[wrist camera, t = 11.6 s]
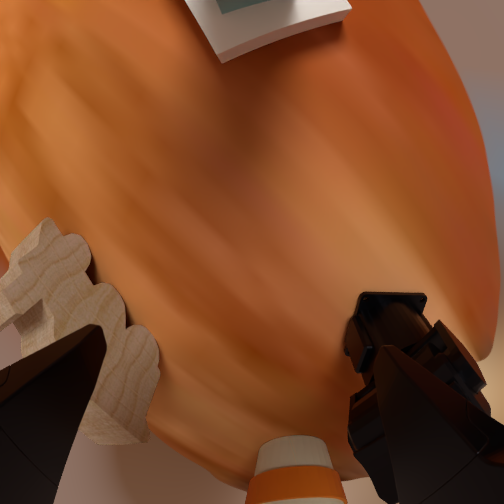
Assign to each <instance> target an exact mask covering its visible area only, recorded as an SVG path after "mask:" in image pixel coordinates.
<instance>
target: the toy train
mask: <svg viewBox="0 0 504 504" xmlns="http://www.w3.org/2000/svg"><path fill="white" fill-rule="evenodd" d="M90 260H91V253H90V250H89V247H88V244H87V242H86V241H85V240H84V239H83V238H82V237H81V235H77V234H74V233H71V234H68V235H65V236H63V235H62V234H61V232H60V231H59V229H58V228H57V226H56V225H55V223H54V221H53V220H52V219H51V218H49V217H47V218H45V219H44V220H43V221H42V222H41V223H40V224H39V225H38V226H37V227H36V228H35V229H34V230H33V231H32V232H31V233H30V234H29V235H28V236H27V237H26V238H25V239H24V240H23V241H22V242H21V243H20V244H19V245H18V246H17V247H16V248H15V250H14V251H13V252H12V253H11V258H10V264H9V270H8V272H6V274H5V275H4V276H3V277H2V278H1V279H0V331H2V330H3V329H4V328H5V327H7V326H8V325H9V324H11V323H12V322H13V324H14V325H15V327H16V329H17V330H18V332H19V333H20V335H21V336H22V339H21V340H22V341H21V353H22V356H23V358H25V357H27V356H28V355H30V354H32V353H34V352H36V351H38V350H40V349H42V348H44V347H46V346H48V345H49V344H51V343H53V342H55V341H57V340H59V339H61V338H63V337H65V336H67V335H69V334H71V333H72V332H74V331H76V330H78V329H80V328H82V327H84V326H86V325H88V324H96V325H100V326H101V327H102V329H103V332H104V336H105V339H106V343H107V352H106V355H105V358H104V361H103V364H102V367H101V370H100V374H99V377H98V380H97V383H96V386H95V389H94V391H93V394H92V396H91V399H90V401H89V403H88V406H87V408H86V411H85V413H84V416H83V418H82V421H81V423H80V426H79V428H78V429H79V430H80V431H81V432H83V433H84V434H85V435H86V436H87V437H89V438H90V439H91V440H92V441H94V442H95V443H96V444H98V445H115V444H135V443H146V442H148V441H149V439H150V432H149V428H148V425H147V421H146V418H145V417H146V414H147V411H148V408H149V405H150V403H151V400H152V397H153V394H154V392H155V389H156V386H157V383H158V381H159V378H160V370H159V368H158V366H157V365H158V362H159V349H158V346H157V342H156V341H155V339H154V337H153V335H152V334H151V333H150V332H149V330H148V329H147V328H145V327H143V326H141V325H132V326H130V327H127V328H126V314H125V305H124V302H123V300H122V298H121V296H120V294H119V293H118V292H117V290H116V289H115V288H114V287H113V286H112V285H111V284H108V283H104V282H102V283H99V284H96V285H93V284H92V282H91V281H90V279H89V278H88V276H87V274H86V273H85V270H86V269H87V267H88V266H89V264H90Z"/></svg>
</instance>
